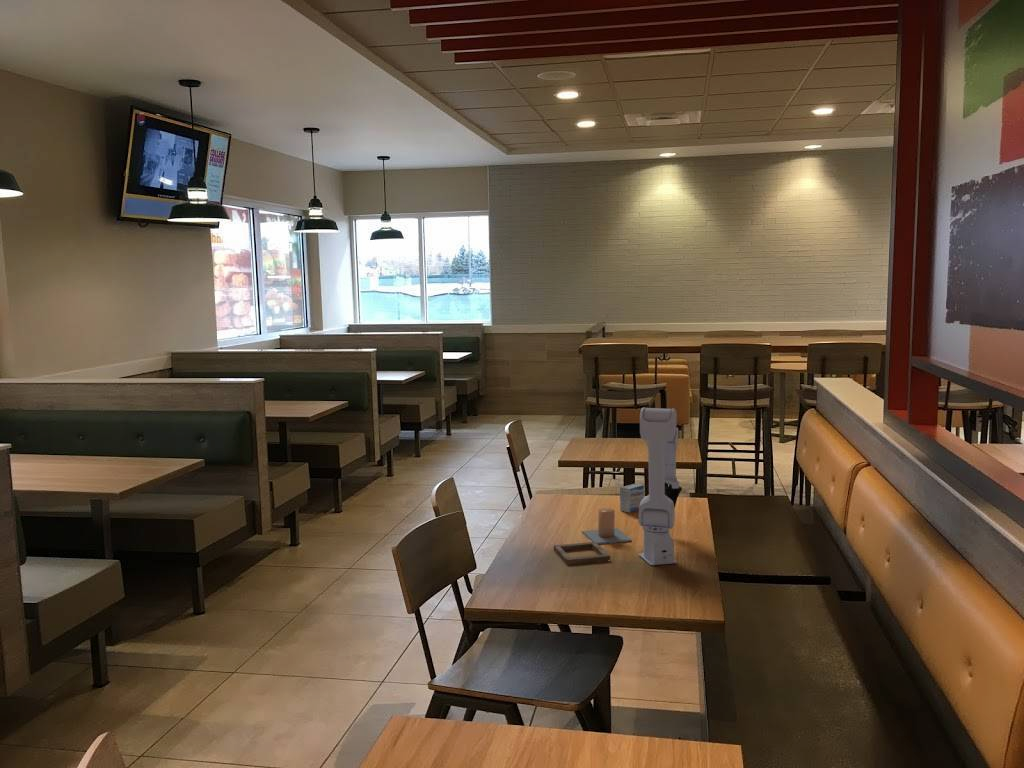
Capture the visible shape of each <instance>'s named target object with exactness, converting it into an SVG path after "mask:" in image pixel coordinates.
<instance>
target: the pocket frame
mask: <svg viewBox="0 0 1024 768" xmlns="http://www.w3.org/2000/svg"><path fill="white" fill-rule="evenodd" d="M589 548H592V549H591V550H593V551H594V550H595V551H594V553H596V552H597V553H596V555H585V556H575V557H571V556H569V555H568V554H567V552H570V550H571V551H579V550H578V549H582V550H590V549H589ZM553 551H554V552H555V554H557V555H558V557H559V558H560V559H561V560H562V561H563V563H565V565H567V566H570V565H571V564H573V565H581V564H580V563H583V564H589V563H588V562H594V563H599V562H598V561H604V562H609V561H608V560H610V561H611V555H610V554H609V553H608V552H607V551H606V550H605V549H604V548H602V547H601V546H600V544H599V545H598V544H597V543H596V542H591V541H589V542H578V543H577V542H576V543H569V544H568V543H567V544H554V545H553ZM598 554H599V555H598ZM571 566H572V565H571Z"/></svg>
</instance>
